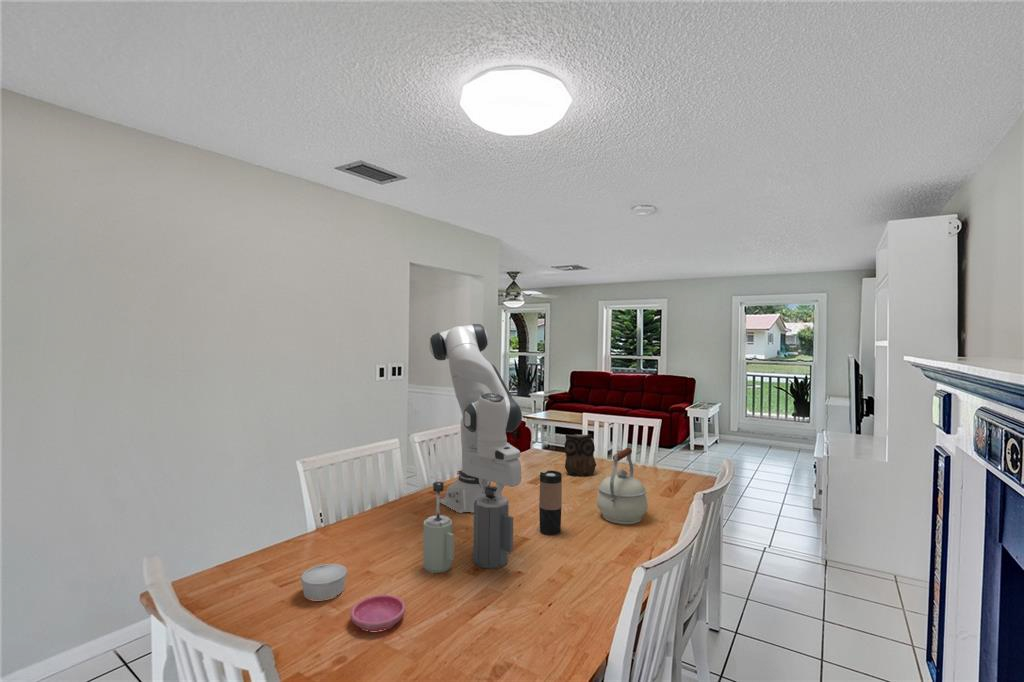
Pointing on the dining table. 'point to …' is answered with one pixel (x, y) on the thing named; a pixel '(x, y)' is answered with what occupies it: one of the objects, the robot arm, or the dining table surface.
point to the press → (492, 532)
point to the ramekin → (323, 581)
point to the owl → (579, 455)
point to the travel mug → (550, 502)
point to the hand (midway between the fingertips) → (491, 495)
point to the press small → (438, 544)
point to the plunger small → (438, 495)
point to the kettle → (622, 494)
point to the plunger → (490, 492)
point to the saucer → (377, 612)
